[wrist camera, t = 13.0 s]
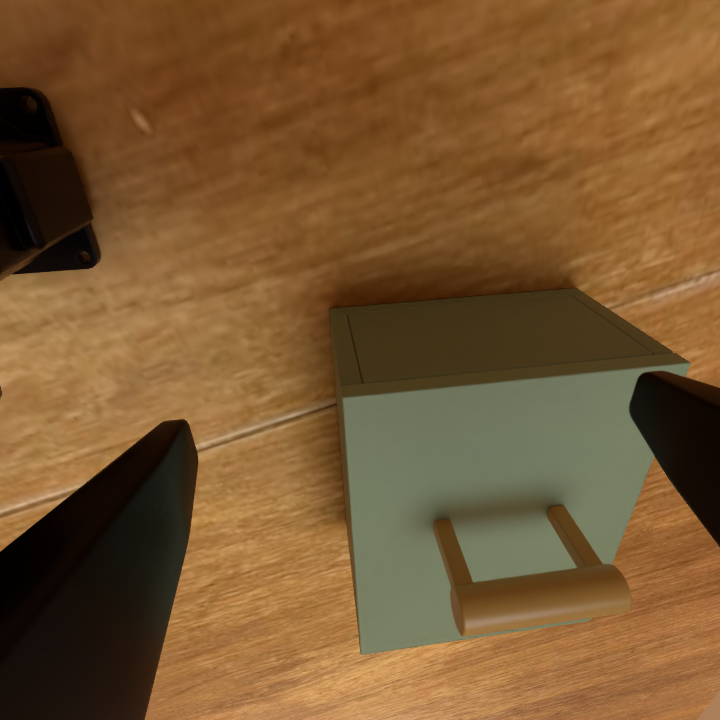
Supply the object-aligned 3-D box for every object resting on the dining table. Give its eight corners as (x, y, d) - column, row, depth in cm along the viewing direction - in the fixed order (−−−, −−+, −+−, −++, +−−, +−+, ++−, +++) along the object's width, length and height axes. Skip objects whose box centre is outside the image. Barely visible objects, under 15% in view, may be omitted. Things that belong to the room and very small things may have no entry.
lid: (581, 607, 25) (644, 717, 20) (359, 639, 24) (372, 763, 19) (675, 351, 17) (814, 443, 12) (340, 385, 16) (356, 498, 11)
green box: (529, 503, 30) (585, 598, 24) (346, 526, 29) (358, 631, 23) (576, 287, 22) (674, 351, 17) (328, 308, 21) (340, 384, 16)
